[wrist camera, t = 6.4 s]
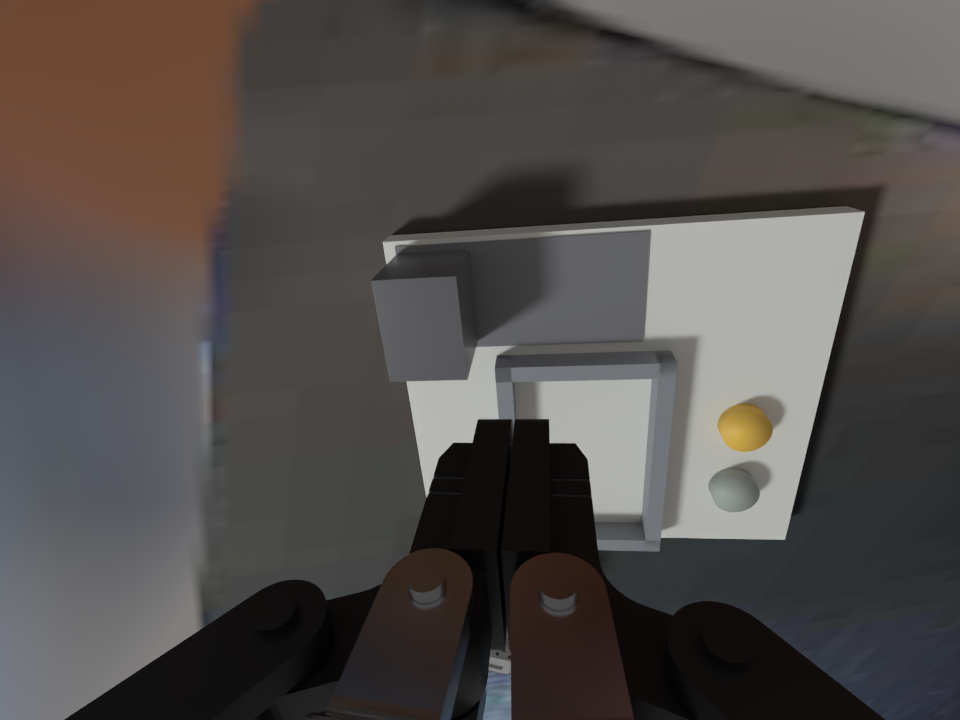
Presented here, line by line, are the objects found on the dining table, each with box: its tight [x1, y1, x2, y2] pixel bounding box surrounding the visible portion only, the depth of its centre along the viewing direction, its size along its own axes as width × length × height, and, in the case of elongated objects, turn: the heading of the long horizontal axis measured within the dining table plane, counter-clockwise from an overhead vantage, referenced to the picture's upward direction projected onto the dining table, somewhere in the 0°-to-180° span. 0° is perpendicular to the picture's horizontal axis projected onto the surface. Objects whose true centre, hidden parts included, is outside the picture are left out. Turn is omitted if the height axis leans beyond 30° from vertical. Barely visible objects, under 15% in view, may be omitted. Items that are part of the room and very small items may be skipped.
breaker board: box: [383, 206, 865, 551], centre depth 23 cm, size 18×16×2 cm
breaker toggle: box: [371, 250, 478, 382], centre depth 20 cm, size 3×4×4 cm
